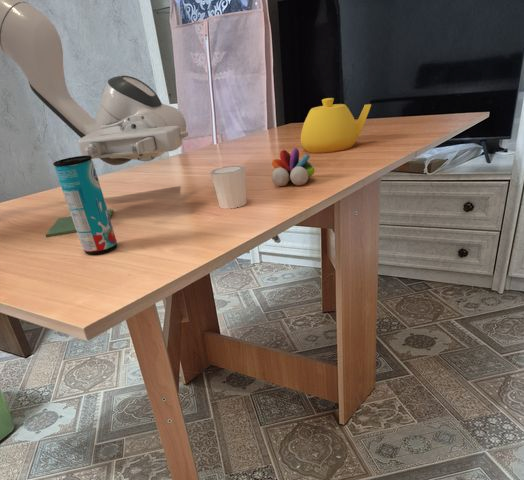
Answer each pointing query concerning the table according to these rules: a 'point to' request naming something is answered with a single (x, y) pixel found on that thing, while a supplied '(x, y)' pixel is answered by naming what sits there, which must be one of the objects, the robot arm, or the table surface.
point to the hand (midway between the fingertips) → (111, 151)
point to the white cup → (230, 186)
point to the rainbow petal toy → (291, 168)
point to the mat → (65, 226)
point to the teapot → (331, 127)
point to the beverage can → (86, 204)
